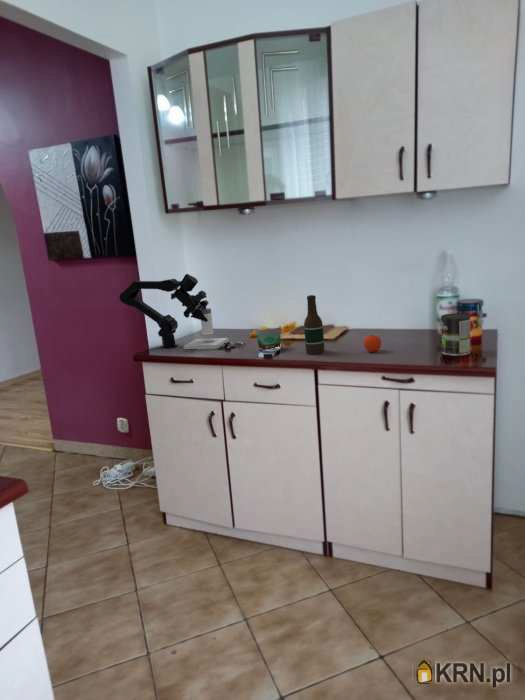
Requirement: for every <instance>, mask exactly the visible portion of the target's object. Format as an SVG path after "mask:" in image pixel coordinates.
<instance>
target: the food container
mask: <svg viewBox="0 0 525 700" xmlns="http://www.w3.org/2000/svg"><path fill="white" fill-rule="evenodd" d="M282 332H283V330H282V327H281V326H279V327H276V328H265V329H255V331H254V335H256V340H257V344H258V349H259V351H260V352H261V351H263V350H265V349H271V348H275V347H278V346H279V347H280V348H281V333H282Z"/></svg>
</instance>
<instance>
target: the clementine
mask: <svg viewBox="0 0 525 700" xmlns="http://www.w3.org/2000/svg"><path fill="white" fill-rule="evenodd" d="M381 346H382V338H381V335H379V334H369V335H367V336H366V337H365V338H364V340H363V347H364V348H365V350H366V351H368V352H370V353H375V352H377V351H379V350H380V349H381Z"/></svg>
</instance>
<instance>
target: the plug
mask: <svg viewBox="0 0 525 700" xmlns="http://www.w3.org/2000/svg"><path fill="white" fill-rule="evenodd" d="M201 312H202V314H203V315H204V316H205V317H206V318H207V320H208V321H207V322H205V321H202V320H200V324H201V332H202V333H201V334H202V335H203V336H205V335H207V336H209V335H212V334H214V328H213V327H214V325H213V318H212V317H213V316H212V315H213V314H212V308H210V307H209V308H206V309H201Z"/></svg>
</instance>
